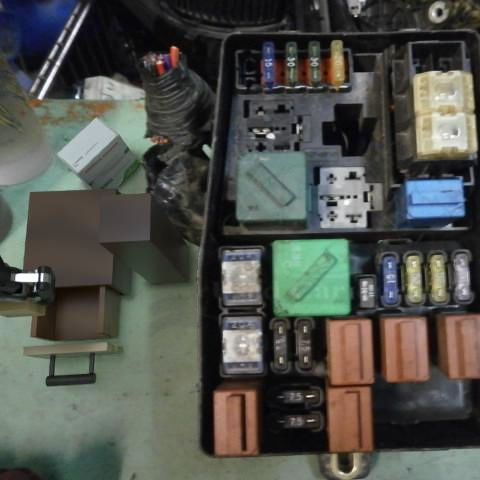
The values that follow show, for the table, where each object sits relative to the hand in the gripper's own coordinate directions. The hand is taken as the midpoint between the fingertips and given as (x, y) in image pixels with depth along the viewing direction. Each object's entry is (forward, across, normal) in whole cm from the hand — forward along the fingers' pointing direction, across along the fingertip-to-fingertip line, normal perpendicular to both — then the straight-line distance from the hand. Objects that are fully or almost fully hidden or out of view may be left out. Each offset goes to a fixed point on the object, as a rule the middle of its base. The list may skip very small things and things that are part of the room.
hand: (26, 298), depth 65 cm
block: (0, 0, 0) cm, 0 cm away
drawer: (+19, 0, -1) cm, 19 cm away
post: (+20, +12, +8) cm, 25 cm away
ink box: (+20, +3, +24) cm, 32 cm away
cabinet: (+20, 0, +11) cm, 23 cm away
